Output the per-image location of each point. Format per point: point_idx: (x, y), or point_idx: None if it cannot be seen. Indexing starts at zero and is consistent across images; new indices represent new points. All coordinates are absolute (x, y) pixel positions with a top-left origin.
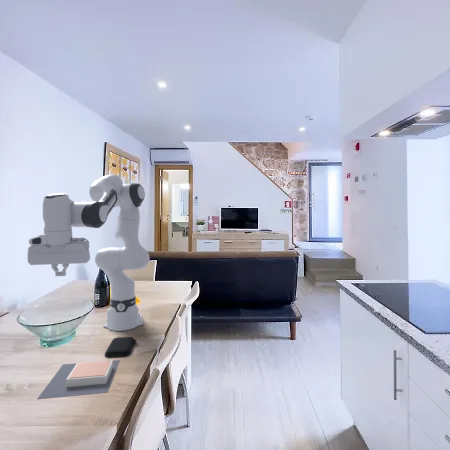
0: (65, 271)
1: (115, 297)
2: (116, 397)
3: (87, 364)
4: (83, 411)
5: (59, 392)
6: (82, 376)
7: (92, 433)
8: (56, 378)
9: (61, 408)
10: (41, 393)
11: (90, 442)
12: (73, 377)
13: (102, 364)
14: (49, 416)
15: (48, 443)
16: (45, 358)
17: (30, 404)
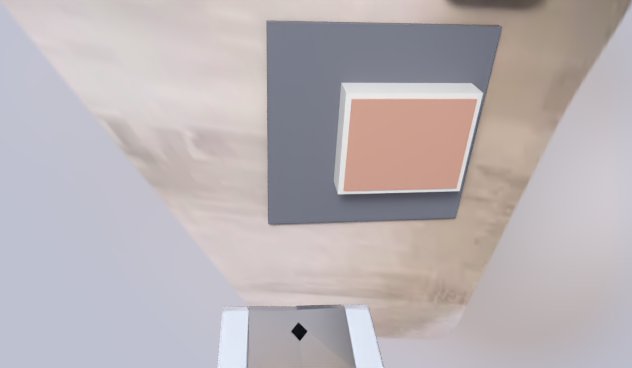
0: (377, 361)
1: None
2: (475, 227)
3: (390, 113)
4: (400, 265)
5: (321, 203)
6: (387, 188)
7: (427, 318)
8: (282, 128)
9: (344, 251)
10: (268, 201)
11: (426, 334)
12: (359, 189)
13: (446, 122)
14: (325, 273)
15: None
16: None
17: (256, 230)
